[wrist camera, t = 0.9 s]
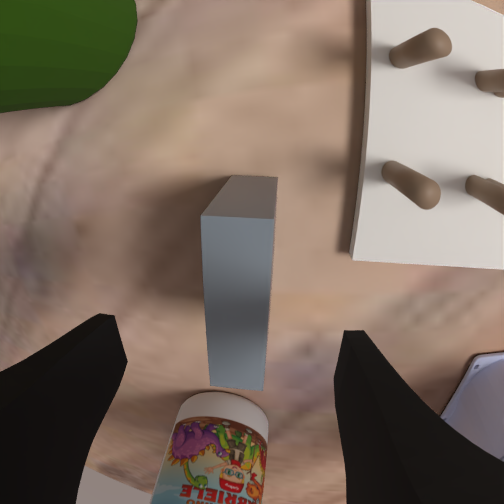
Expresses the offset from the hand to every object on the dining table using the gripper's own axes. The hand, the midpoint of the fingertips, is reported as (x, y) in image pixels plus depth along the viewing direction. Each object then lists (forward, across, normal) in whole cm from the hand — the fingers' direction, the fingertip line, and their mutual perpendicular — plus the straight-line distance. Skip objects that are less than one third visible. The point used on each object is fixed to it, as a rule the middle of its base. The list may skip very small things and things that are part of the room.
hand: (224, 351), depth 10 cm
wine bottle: (+10, +11, -13) cm, 19 cm away
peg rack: (+9, -16, -7) cm, 20 cm away
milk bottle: (+10, +2, +17) cm, 19 cm away
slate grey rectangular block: (+10, 0, +1) cm, 10 cm away
